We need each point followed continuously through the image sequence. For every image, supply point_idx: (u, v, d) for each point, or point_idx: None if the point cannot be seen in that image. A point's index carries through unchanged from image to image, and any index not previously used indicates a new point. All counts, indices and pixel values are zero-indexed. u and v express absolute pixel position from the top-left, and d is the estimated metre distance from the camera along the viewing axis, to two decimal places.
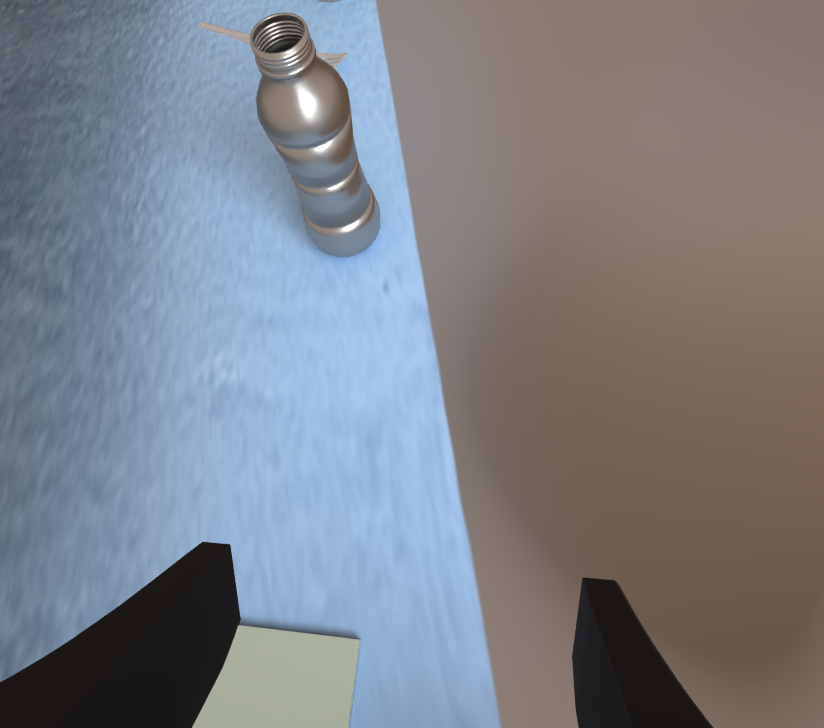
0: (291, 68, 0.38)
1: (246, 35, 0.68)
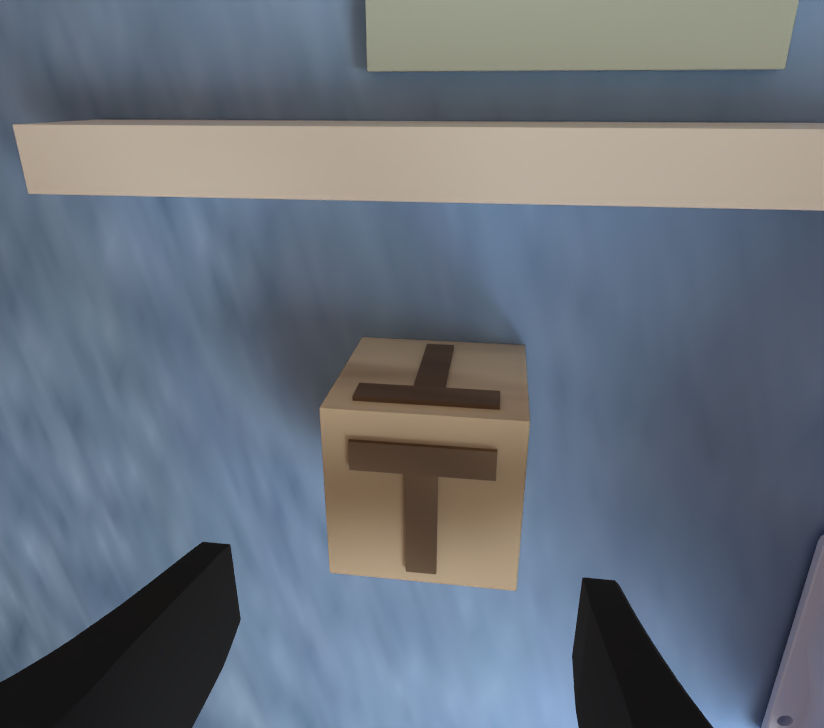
0: None
1: None
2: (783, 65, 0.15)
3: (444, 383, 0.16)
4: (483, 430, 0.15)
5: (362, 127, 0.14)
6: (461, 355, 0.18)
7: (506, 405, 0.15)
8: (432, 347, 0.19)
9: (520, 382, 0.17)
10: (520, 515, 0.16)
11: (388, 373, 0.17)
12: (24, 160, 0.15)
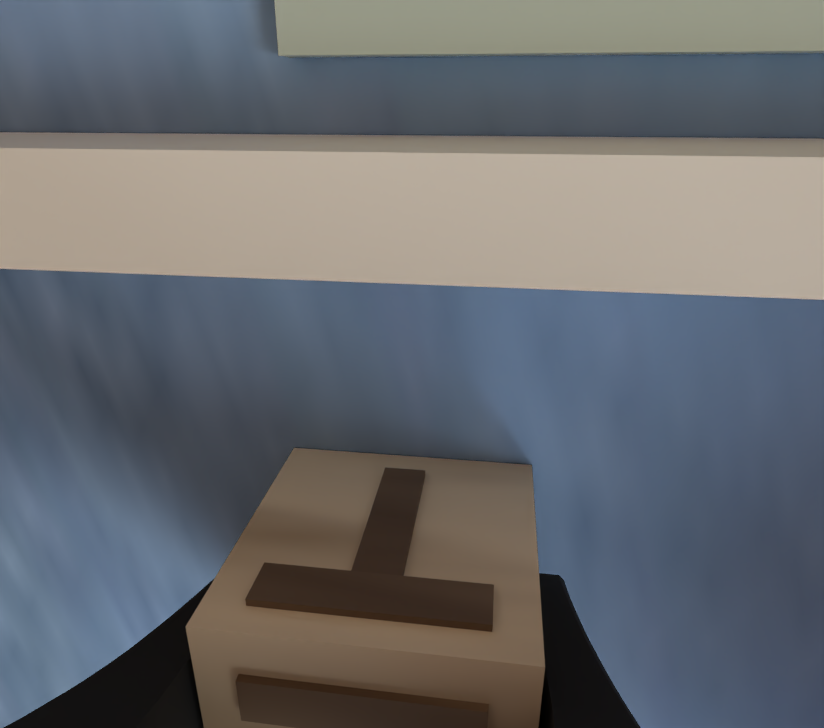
0: None
1: None
2: None
3: (402, 565, 0.10)
4: (463, 674, 0.09)
5: (244, 152, 0.08)
6: (435, 490, 0.12)
7: (503, 617, 0.09)
8: (392, 476, 0.12)
9: (525, 556, 0.10)
10: None
11: (317, 533, 0.11)
12: None
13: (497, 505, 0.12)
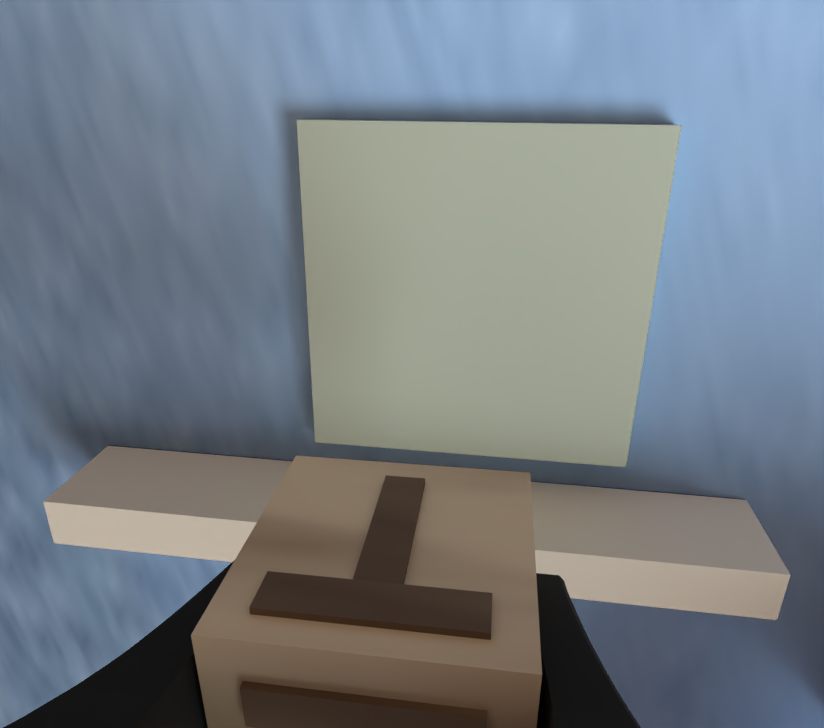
0: None
1: None
2: (624, 465, 0.20)
3: (403, 573, 0.10)
4: (462, 681, 0.09)
5: None
6: (435, 498, 0.12)
7: (501, 625, 0.09)
8: (392, 484, 0.12)
9: (523, 565, 0.11)
10: None
11: (318, 541, 0.11)
12: (51, 521, 0.20)
13: (496, 513, 0.12)
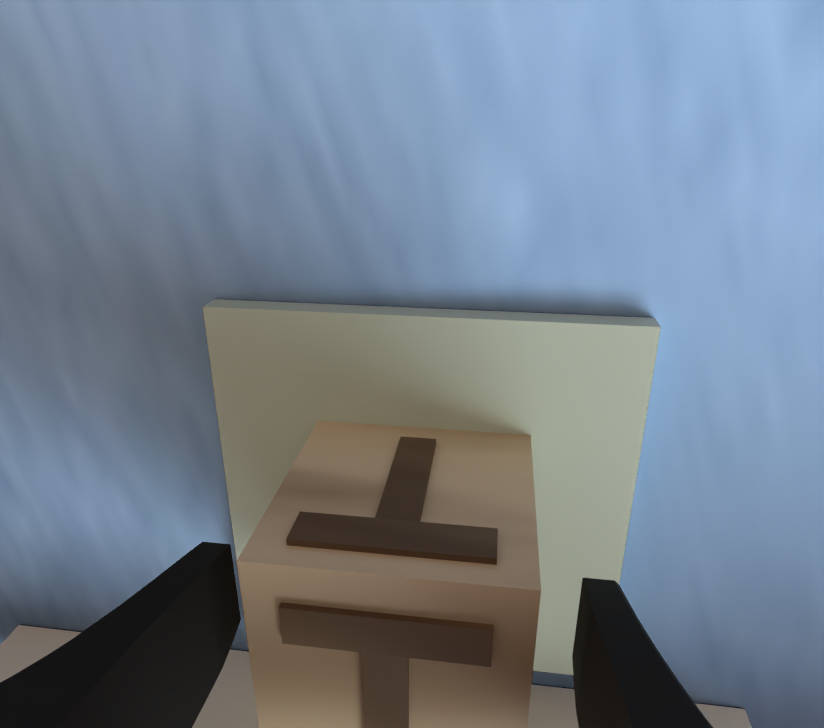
0: None
1: None
2: None
3: (419, 513, 0.12)
4: (472, 598, 0.10)
5: None
6: (445, 455, 0.14)
7: (505, 554, 0.11)
8: (407, 443, 0.14)
9: (525, 508, 0.12)
10: (526, 708, 0.11)
11: (343, 489, 0.13)
12: None
13: (500, 467, 0.13)
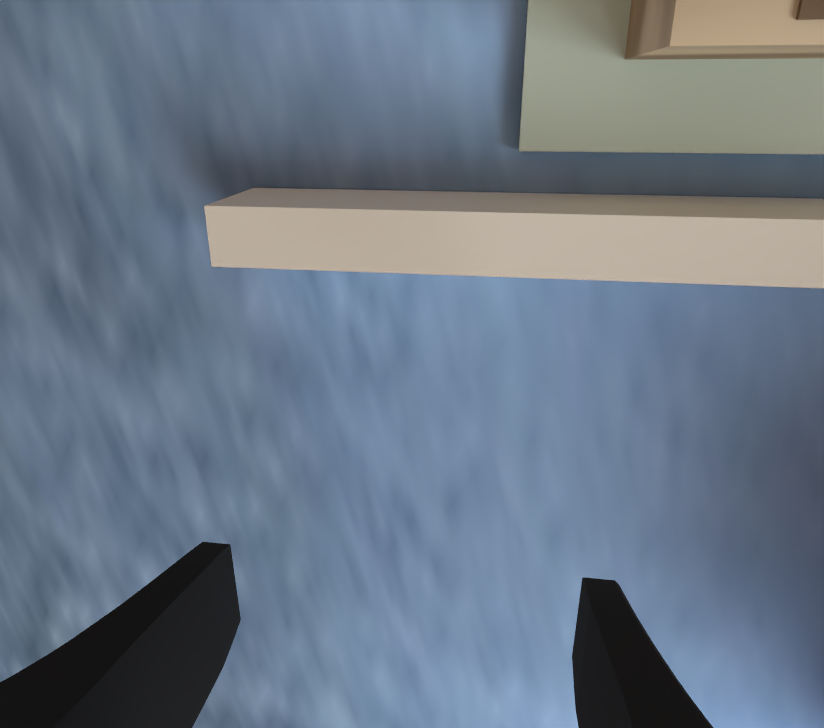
0: None
1: None
2: None
3: None
4: None
5: (536, 214, 0.15)
6: None
7: None
8: None
9: None
10: None
11: None
12: (209, 237, 0.17)
13: None
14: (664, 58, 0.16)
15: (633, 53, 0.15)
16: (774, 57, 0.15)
